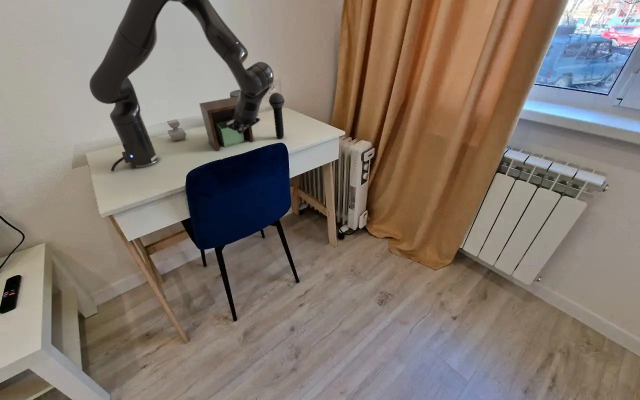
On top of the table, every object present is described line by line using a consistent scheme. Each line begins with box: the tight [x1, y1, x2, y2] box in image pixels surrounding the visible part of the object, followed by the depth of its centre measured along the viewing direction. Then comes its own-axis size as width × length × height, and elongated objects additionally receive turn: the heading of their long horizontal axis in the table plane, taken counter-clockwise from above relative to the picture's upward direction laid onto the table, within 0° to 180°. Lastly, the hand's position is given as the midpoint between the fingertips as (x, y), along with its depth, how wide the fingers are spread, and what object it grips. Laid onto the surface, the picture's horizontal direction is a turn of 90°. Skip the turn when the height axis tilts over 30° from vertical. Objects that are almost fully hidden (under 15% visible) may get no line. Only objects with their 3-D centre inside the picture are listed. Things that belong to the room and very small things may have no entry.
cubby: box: [199, 97, 255, 152], centre depth 121 cm, size 17×11×17 cm, turn 124°
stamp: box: [166, 119, 187, 142], centre depth 126 cm, size 9×7×8 cm
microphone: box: [268, 92, 285, 140], centre depth 123 cm, size 7×7×20 cm
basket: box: [215, 120, 245, 148], centre depth 124 cm, size 9×8×8 cm
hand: (240, 131), depth 110 cm, fingers closed
